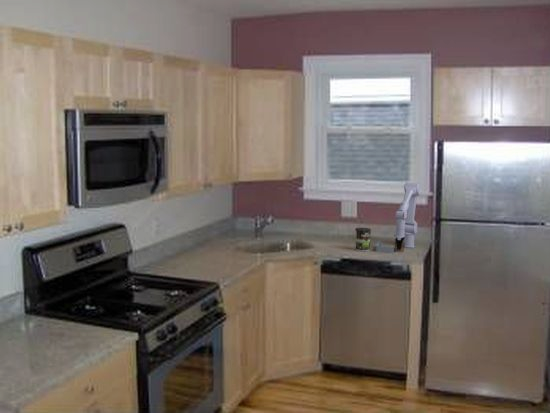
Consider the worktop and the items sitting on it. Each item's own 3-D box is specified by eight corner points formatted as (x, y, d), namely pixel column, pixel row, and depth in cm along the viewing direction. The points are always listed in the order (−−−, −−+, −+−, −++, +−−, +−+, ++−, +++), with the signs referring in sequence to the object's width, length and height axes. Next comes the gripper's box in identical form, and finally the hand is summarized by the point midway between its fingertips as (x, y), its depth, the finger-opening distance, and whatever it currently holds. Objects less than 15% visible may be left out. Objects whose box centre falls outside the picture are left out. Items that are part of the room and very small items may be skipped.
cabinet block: (394, 249, 417) (395, 241, 416) (404, 250, 415) (405, 241, 414) (394, 251, 413) (394, 242, 412) (404, 252, 411) (404, 243, 410)
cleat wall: (378, 246, 428) (378, 240, 427) (395, 247, 424) (395, 241, 424) (375, 251, 410) (375, 245, 410) (393, 252, 407) (393, 247, 407)
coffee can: (372, 250, 413) (373, 229, 411) (359, 251, 409) (360, 230, 407) (365, 247, 422) (365, 227, 420) (351, 248, 418) (352, 227, 416)
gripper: (395, 226, 420) (394, 246, 422) (393, 230, 406) (392, 250, 408) (405, 227, 418) (404, 247, 420) (404, 230, 404) (403, 251, 406)
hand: (399, 248), depth 414 cm, fingers closed on cabinet block, 4 cm apart
